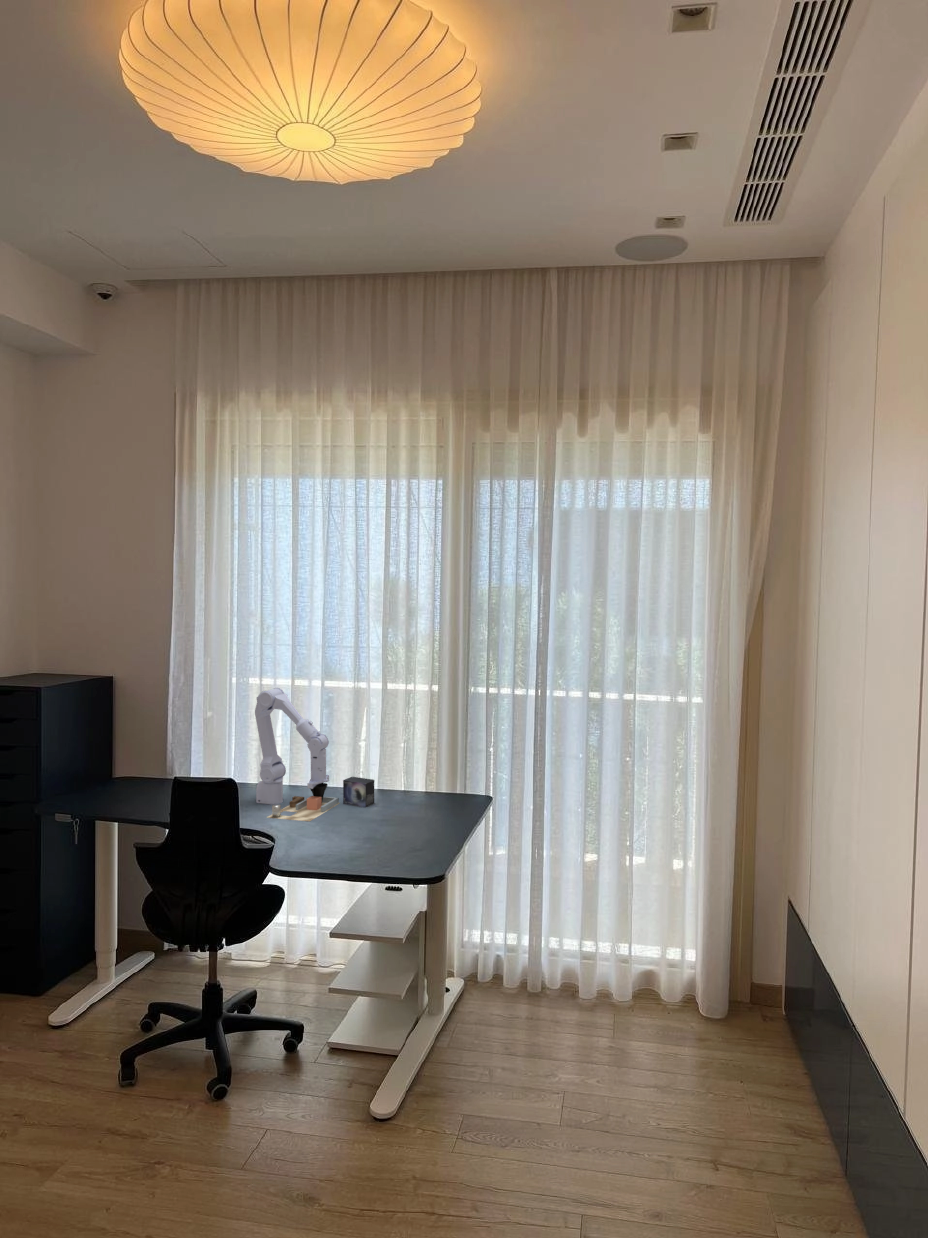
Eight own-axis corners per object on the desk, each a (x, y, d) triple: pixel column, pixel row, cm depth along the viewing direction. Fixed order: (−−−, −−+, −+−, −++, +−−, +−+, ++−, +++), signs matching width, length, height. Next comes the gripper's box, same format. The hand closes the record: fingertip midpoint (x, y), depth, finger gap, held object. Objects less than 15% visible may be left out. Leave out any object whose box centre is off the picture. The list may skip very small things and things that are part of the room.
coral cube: (306, 809, 331) (306, 798, 331) (311, 806, 335) (311, 796, 334) (316, 810, 330) (316, 799, 329) (321, 807, 334) (321, 796, 333)
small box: (342, 807, 339) (341, 779, 338) (352, 803, 344) (351, 776, 344) (365, 810, 334) (365, 782, 333) (375, 806, 340) (375, 779, 339)
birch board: (266, 820, 320) (266, 817, 320) (299, 802, 345) (299, 799, 345) (309, 824, 315) (309, 821, 315) (340, 806, 340) (340, 803, 340)
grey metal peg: (270, 817, 320) (270, 806, 320) (274, 815, 323) (274, 804, 323) (278, 818, 319) (278, 807, 319) (282, 815, 322) (282, 804, 322)
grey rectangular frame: (295, 810, 330) (295, 804, 330) (312, 801, 343) (312, 795, 343) (323, 812, 327) (323, 807, 327) (338, 803, 340) (338, 798, 340)
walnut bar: (284, 806, 334) (284, 801, 334) (294, 801, 342) (294, 796, 342) (294, 807, 333) (294, 802, 333) (304, 802, 341) (304, 797, 341)
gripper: (319, 772, 327) (320, 809, 328) (336, 764, 341) (336, 799, 341) (302, 771, 329) (302, 807, 330) (319, 762, 343) (319, 798, 343)
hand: (318, 803), depth 336 cm, fingers closed
